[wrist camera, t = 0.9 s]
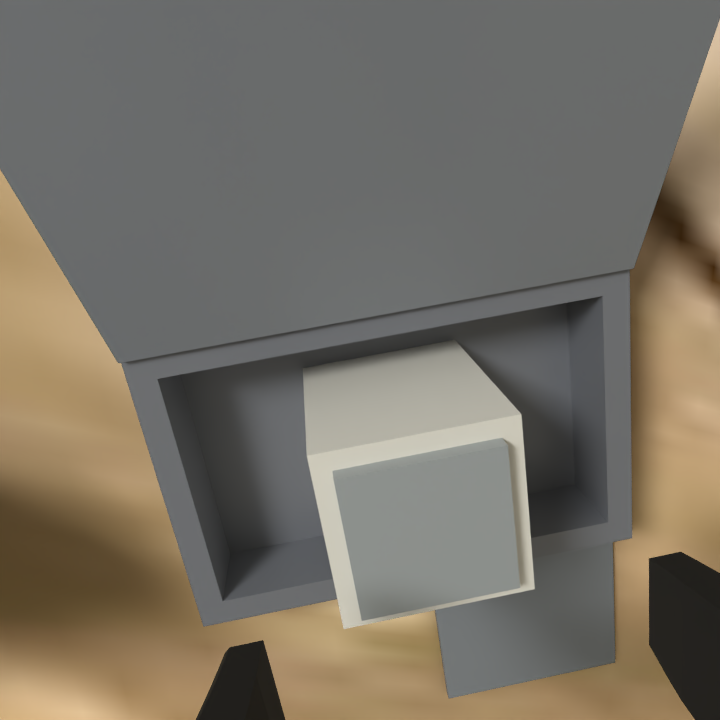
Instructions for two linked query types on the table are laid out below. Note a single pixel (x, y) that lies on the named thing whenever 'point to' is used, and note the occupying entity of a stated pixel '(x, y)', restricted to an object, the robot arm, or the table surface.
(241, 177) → the case
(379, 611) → the module
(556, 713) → the table surface
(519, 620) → the pad
